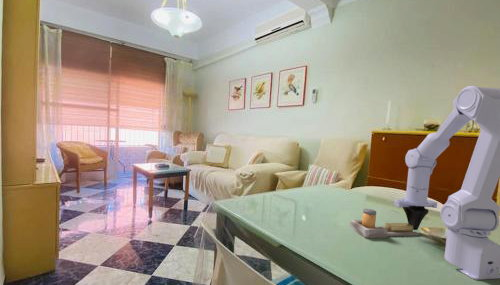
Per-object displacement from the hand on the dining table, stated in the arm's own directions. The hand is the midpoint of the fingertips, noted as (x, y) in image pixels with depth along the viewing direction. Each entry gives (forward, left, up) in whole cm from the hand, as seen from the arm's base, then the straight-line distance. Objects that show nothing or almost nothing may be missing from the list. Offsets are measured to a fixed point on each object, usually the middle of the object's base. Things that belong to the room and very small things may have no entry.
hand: (413, 228), depth 77 cm
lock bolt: (0, +5, -1) cm, 5 cm away
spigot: (0, +17, -1) cm, 17 cm away
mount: (0, +10, -2) cm, 10 cm away
